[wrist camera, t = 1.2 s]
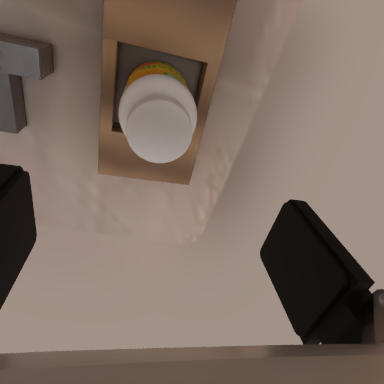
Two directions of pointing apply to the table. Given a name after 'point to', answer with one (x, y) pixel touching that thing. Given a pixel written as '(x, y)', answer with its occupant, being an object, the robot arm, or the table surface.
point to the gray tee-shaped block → (19, 76)
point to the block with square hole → (168, 43)
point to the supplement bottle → (157, 112)
